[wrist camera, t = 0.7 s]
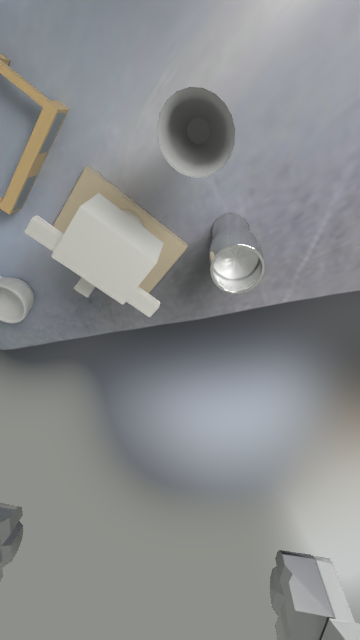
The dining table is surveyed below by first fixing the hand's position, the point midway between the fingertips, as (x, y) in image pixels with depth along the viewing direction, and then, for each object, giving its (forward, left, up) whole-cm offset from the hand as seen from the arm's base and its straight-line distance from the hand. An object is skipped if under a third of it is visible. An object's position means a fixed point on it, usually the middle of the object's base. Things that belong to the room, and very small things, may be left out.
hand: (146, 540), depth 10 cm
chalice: (-8, -6, -47) cm, 48 cm away
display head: (+13, -6, -47) cm, 49 cm away
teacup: (+33, -17, -47) cm, 60 cm away
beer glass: (0, +7, -47) cm, 47 cm away
